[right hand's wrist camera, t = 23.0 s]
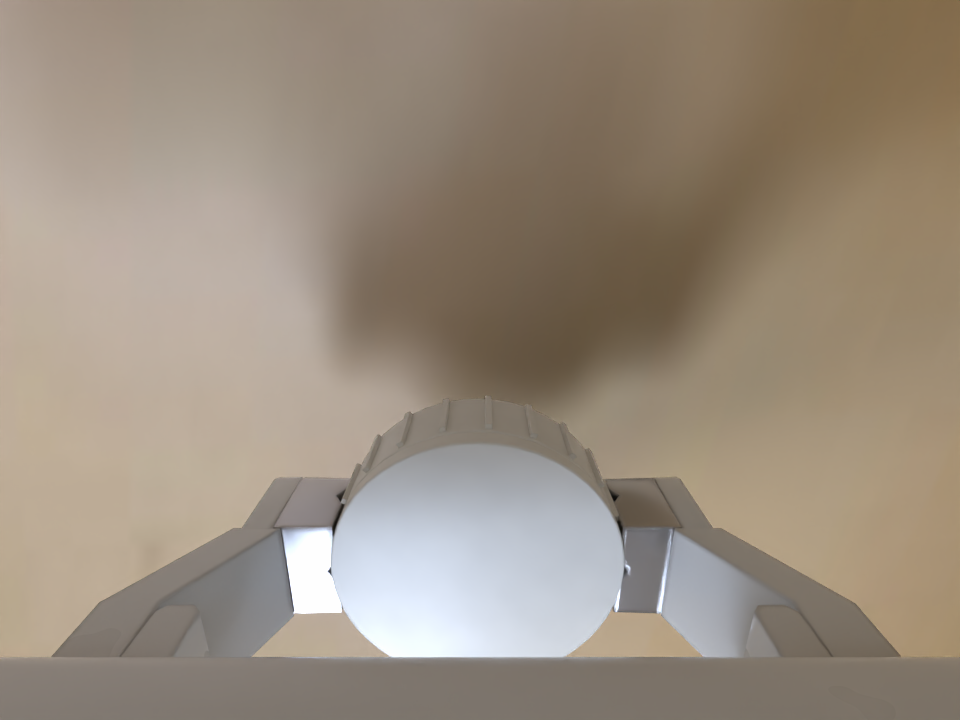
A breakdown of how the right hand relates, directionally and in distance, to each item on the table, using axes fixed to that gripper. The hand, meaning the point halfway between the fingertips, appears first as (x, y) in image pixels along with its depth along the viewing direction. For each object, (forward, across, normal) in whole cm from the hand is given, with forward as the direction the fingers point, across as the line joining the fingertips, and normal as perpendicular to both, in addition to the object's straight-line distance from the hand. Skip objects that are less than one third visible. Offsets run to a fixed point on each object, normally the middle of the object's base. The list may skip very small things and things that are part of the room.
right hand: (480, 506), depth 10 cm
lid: (-2, 0, 0) cm, 2 cm away
